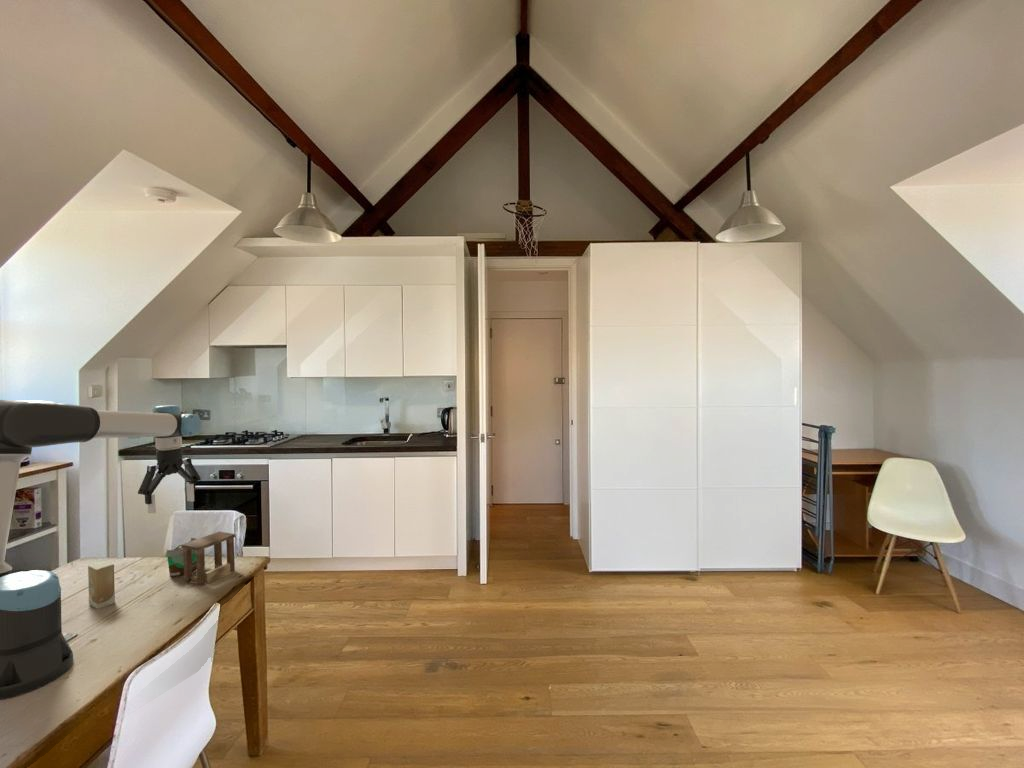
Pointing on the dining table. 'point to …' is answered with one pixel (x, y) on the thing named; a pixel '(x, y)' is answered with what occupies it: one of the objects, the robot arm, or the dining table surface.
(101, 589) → the skincare box
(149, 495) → the robot arm
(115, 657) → the dining table surface
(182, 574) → the food container
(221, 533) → the small wooden bench
